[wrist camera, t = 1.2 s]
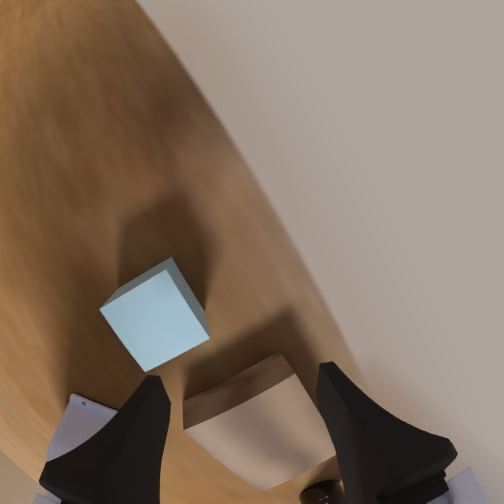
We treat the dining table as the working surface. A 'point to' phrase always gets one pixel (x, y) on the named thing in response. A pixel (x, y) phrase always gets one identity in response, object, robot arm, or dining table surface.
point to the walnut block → (260, 424)
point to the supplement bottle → (324, 493)
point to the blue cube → (156, 315)
